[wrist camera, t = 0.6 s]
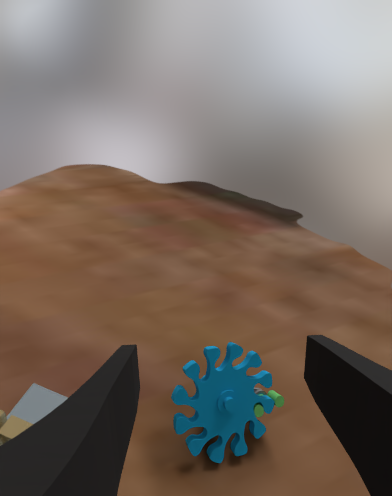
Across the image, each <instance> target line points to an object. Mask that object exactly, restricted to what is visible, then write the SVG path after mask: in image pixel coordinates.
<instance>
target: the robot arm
mask: <svg viewBox="0 0 392 496" xmlns="http://www.w3.org/2000/svg"><path fill="white" fill-rule="evenodd" d="M304 379H305V381H306V383H307V385H308V388H309V390H310V392H311V394H312V396H313V398H314V400H315V402H316V404H317V405H318V407H319V409H320V410H321V412H322V413H323V415H324V417H325V418H326V420H327V422H328V423H329V425H330V426H331V428H332V429H333V431H334V433H335V434H336V436H337V437H338V439H339V441H340V442H341V444H342V445H343V447H344V448H345V450H346V452H347V453H348V455H349V456H350V458H351V460H352V462H353V463H354V465H355V467H356V468H357V470H358V472H359V474H360V476H361V478H362V480H363V481H364V483H365V485H366V487H367V489H368V491H369V493H370V495H371V496H392V371H391V370H389V369H387V368H385V367H383V366H381V365H379V364H377V363H375V362H373V361H371V360H369V359H367V358H365V357H363V356H362V355H360V354H358V353H356V352H354V351H352V350H350V349H348V348H347V347H345V346H343V345H341V344H339V343H337V342H335V341H333V340H331V339H329V338H327V337H325V336H323V335H310V336H307V345H306V358H305V371H304ZM139 391H140V381H139V369H138V357H137V345H122V346H121V347H120V348H119V349H118V350H117V351H116V352H115V353H114V354H113V355H112V356H111V357H110V358H109V359H108V360H107V361H106V362H105V363H104V365H103V366H102V367H101V368H100V369H99V370H98V371H97V372H96V373H95V374H94V375H93V376H92V377H91V378H90V379H89V380H88V381H87V382H85V383H84V384H83V385H82V386H81V387H80V388H79V389H78V390H77V391H76V392H75V393H74V394H72V395H71V396H70V397H69V398H68V399H67V400H65V401H64V402H63V403H62V404H60V405H59V406H58V407H57V408H55V409H54V410H53V411H51V412H50V413H49V414H47V415H46V416H45V417H43V418H42V419H40V420H39V421H38V422H36V423H35V424H33V425H32V426H30V427H29V428H27V429H26V430H24V431H23V432H21V433H20V434H19V435H17V436H16V437H14V438H12V439H11V440H9V441H7V442H6V443H4V444H3V445H1V446H0V496H117V492H118V487H119V482H120V477H121V473H122V469H123V465H124V461H125V457H126V453H127V449H128V445H129V441H130V437H131V433H132V429H133V425H134V421H135V417H136V413H137V406H138V399H139Z"/></svg>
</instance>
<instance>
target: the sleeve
mask: <svg viewBox="0 0 392 496" xmlns="http://www.w3.org/2000/svg"><path fill="white" fill-rule="evenodd" d="M32 425H33V424H32V423H29V422H27V421H25V420H23V419H20V418H18V417H16V416H13V415H11V416H10V418H9V419H8V420H7V417H6V414H5V412H4V411H2V410H0V446H1V445H3V444H4V443H6V442H7V441H9V440H11V439H12V438H14V437H16V436H17V435H19V434H20V433H21V432H23V431H24V430H26V429H27V428H29V427H30V426H32Z"/></svg>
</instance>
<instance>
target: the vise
mask: <svg viewBox="0 0 392 496" xmlns="http://www.w3.org/2000/svg"><path fill="white" fill-rule="evenodd" d="M67 399H68V398H67V397H65V396H63V395H60V394H58V393H55V392H53V391H51V390H48V389H46V388H44V387H41V386H39V385H37V384H34V383H33V384H32V386H31V387H30V388H29V390H28V391H27V392H26V393H25V395H24V396H23V397H22V398H21V400H20V401H19V402H18V403H17V405H16V406H15V407H14V408H13V410H12V411H11V412H10V413H9V415H8V416H7V420H8V419H9V418H10V416H11V415H13V416H16V417H18V418H20V419H23V420H25V421H27V422H29V423H32V424H35V423H36V422H38V421H39V420H40V419H42V418H43V417H45V416H46V415H47V414H49V413H50V412H51V411H53V410H54V409H55V408H57V407H58V406H59V405H60V404H62V403H63V402H64V401H65V400H67Z"/></svg>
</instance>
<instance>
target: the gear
mask: <svg viewBox="0 0 392 496" xmlns="http://www.w3.org/2000/svg"><path fill="white" fill-rule="evenodd" d="M242 353H243V349H242V348H241V347H240V346H238V345H236V344H234V343H232V342H229V343H228V345H227V352H226V357H225V359H224V361H223V362H222V364H221V365H220V366H219V367H218V368H215V362H216V361H217V359H218V358H219V356H220V349H219V348H217V347H216V346H208V347H205V348H204V355H205V357H206V360H207V371H206V375H205V376H203V377H202V379H199V371H200V367H199V365H198V364H197V363H196V362H195V361H194V360H192V361H190V362H188V363H187V364H186V365H185V366H184V367H183V371H184V373H185V374H186V375H187V376H188V377H189V378H191V379H192V380H193V381H194V383H195V386H196V394H195V395H194V396H193V397H188V394H187V392H186V390H185V389H184V387H183V386H181V385H177V386H176V387H175V389H174V391H173V393H172V396H171V398H172V400H173V401H174V403H175V404H177V405H189V406H191V407H193V408H194V409H195V410H196V412H195V415H194V416H193V417H191V418H187V417H186V416H185V415H184V414H182V413H177V414H175V415H174V420H173V422H174V429H175V431H176V433H177V434H183V433H184V432H186V431H187V430H189V429H190V428H193V427H204V430H203V432H202V433H201V434H199V435H195V434H192V435H189V436H188V437H187V438H186V440H185V441H186V444H187V446H188V448H189V450H190V452H191V453H192V455H193V456H197V455H198V454H199V453H200V452H201V450H202V448H203V446H204V445H205V444H206V442H207V441H209V440H210V439H211V438H213V437H215V436H217V435H219V437H218V440H217V441H216V442H214V443H212V444H211V445H210V446H209V447H208V449H207V454H208V456H209V458H210V459H211V460H212V461H214V462H216V463H221V462H222V461H223V459H224V449H225V445H226V443H227V441H228V439H229V438H230V436H231V435H232V434H233V433H236V435H235V437H234V439H233V440H232V442H231V445H230V448H231V450H232V452H233V453H234V454H235V456H241V455H244V454H246V453H247V450H248V449H247V445H246V443H245V440H244V428H245V424H246V423H247V422H248V421H250V425H249V430H250V432H251V433H252V434H253V436H254V437H255V438H257V439H258V438H260V437H261V436H262V435H263V434H264V433H265V431H266V428H265V426H264V425H263V424H262V423H261V422H260V421H259V420H257V419H256V417H261V416H262V415H263V413H264V411H265V412H266V413H268V414H270V413H271V411H272V409H273V407H274V405H276V406H277V407H281V406H283V404H284V398H283V397H282V396H281V395H279V394H278V393H276V392H275V391H273V390H271V391H269V392H268V394H266V393H265V392H264V391H263V390H261V389H260V388H254V386H255V385H256V384H257V383H260V384H261V385H263V386H264V387H266V388H269V387H271V386H272V375H271V374H270V373H268V372H267V371H261V372H260V373H258V374H257V375H254V376H246V371H247V369H248V368H249V367H255V368H257V367H259V366H260V365H261V364H262V361H261V359H260V357H259V355H258V354H257V353H256V352H254V351H250V352H249V353H248V354H247V356H246V358H245V359H244V360H243V362H241V363H240V364H239V365H237V366H234V367H232V362H233V360H234V359H236V358H238V357H240V356H241V355H242ZM255 416H256V417H255Z"/></svg>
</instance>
